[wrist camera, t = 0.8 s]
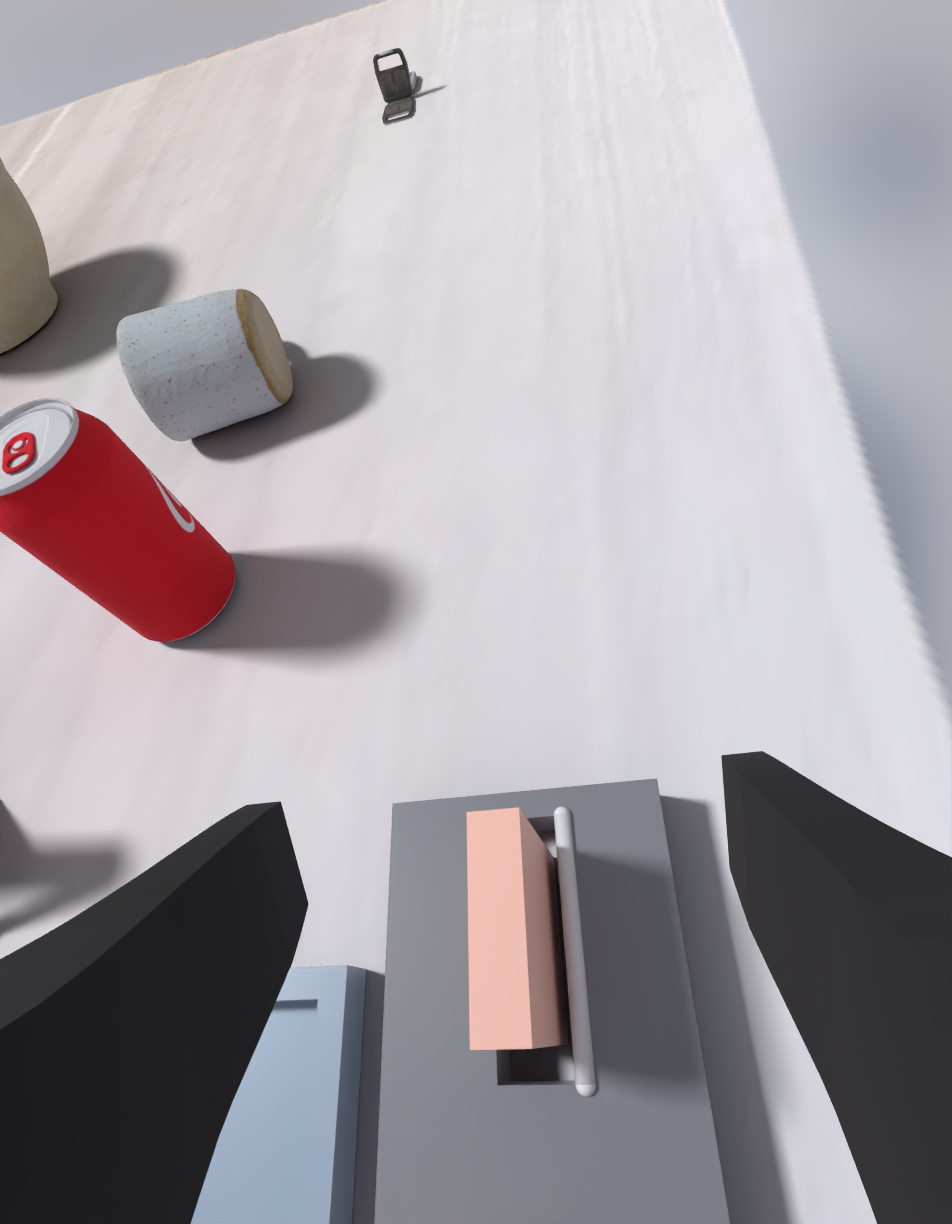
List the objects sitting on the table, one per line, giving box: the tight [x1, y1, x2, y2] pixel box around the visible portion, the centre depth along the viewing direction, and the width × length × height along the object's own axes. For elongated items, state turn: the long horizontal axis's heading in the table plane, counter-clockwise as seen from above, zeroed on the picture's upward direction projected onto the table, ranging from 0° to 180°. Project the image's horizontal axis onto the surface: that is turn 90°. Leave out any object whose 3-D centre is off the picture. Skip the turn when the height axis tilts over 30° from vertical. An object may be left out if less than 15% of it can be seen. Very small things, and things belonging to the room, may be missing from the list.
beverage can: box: [0, 398, 236, 642], centre depth 32 cm, size 6×6×12 cm
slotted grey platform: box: [374, 779, 730, 1224], centre depth 20 cm, size 18×10×5 cm, turn 1°
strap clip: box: [373, 48, 418, 125], centre depth 63 cm, size 8×3×4 cm, turn 179°
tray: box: [191, 965, 366, 1224], centre depth 23 cm, size 13×13×2 cm
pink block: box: [467, 807, 568, 1050], centre depth 22 cm, size 6×2×7 cm, turn 1°
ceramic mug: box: [116, 289, 293, 441], centre depth 43 cm, size 11×8×8 cm
